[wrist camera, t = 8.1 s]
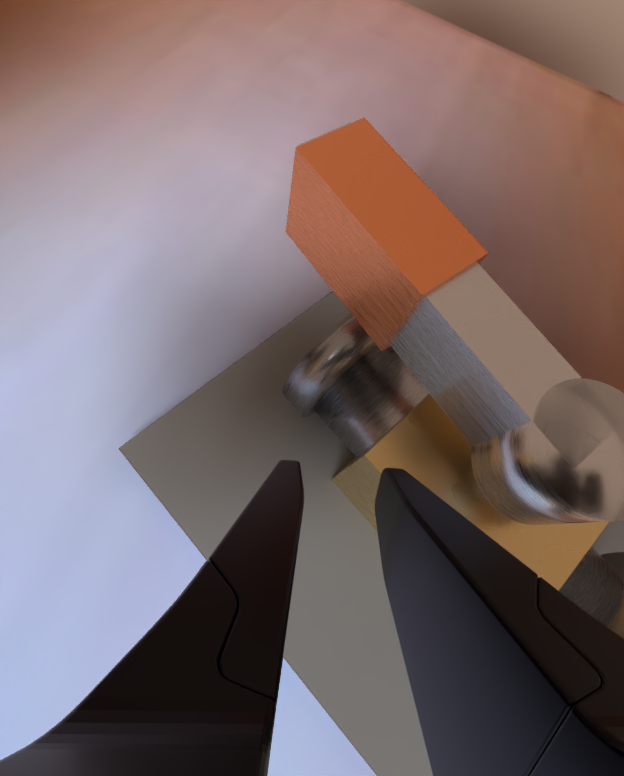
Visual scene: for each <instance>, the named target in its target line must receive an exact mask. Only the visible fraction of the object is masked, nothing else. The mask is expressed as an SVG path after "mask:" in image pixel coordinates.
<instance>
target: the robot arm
mask: <svg viewBox="0 0 624 776" xmlns="http://www.w3.org/2000/svg"><path fill="white" fill-rule="evenodd" d="M303 508H304V487H303V480H302V472H301V465H300V462H299V461H294V460H280V461H279V462H278V463H277V465H276V466H275V467H274V469H273V470H272V471H271V473H270V474H269V476H268V477H267V478H266V480H265V481H264V482H263V484H262V485H261V487H260V488H259V489H258V491H257V492H256V493H255V495H254V496H253V498H252V499H251V500H250V502H249V503H248V504H247V506H246V507H245V509H244V510H243V511H242V513H241V514H240V516H239V517H238V518H237V520H236V521H235V522H234V524H233V525H232V527H231V528H230V529H229V531H228V532H227V533H226V535H225V536H224V538H223V539H222V540H221V542H220V543H219V544H218V546H217V547H216V549H215V550H214V551H213V553H212V554H211V555H210V557H209V558H208V561H206V562H205V563H204V565H203V566H202V567H201V569H200V570H199V572H198V573H197V574H196V576H195V577H194V578H193V580H192V581H191V582H190V583H189V585H188V586H187V587H186V589H185V590H184V591H183V592H182V594H181V595H180V596H179V597H178V599H177V600H176V601H175V602H174V603H173V604H172V606H171V607H170V608H169V609H168V610H167V611H166V612H165V613H164V614H163V616H162V617H161V618H160V619H159V620H158V621H157V622H156V623H155V625H154V626H153V627H152V628H151V629H150V630H149V631H148V632H147V633H146V634H145V635H144V636H143V637H142V638H141V639H140V640H139V642H138V643H137V644H136V645H135V646H134V647H133V648H132V649H131V650H130V651H129V652H128V653H127V654H126V655H125V656H124V657H123V658H122V659H121V661H120V662H119V663H118V664H117V665H116V666H115V667H114V668H113V669H112V670H111V671H110V672H109V673H108V674H107V675H106V676H105V677H104V678H103V680H102V681H101V682H100V683H99V684H98V685H97V686H96V687H95V688H94V689H93V690H92V691H91V692H90V693H89V694H88V695H87V696H86V697H85V698H84V700H83V701H82V702H81V703H80V704H79V705H78V706H77V707H76V708H75V709H74V710H73V711H72V712H71V713H69V714H68V715H67V716H66V717H65V718H64V719H63V720H62V721H60V722H59V723H58V724H57V725H56V726H54V727H53V728H52V729H51V730H49V731H48V732H47V733H46V734H44V735H43V736H41V737H40V738H39V739H37V740H36V741H34V742H33V743H31V744H30V745H28V746H26V747H25V748H23V749H21V750H19V751H17V752H15V753H14V754H12V755H10V756H8V757H6V758H4V759H2V760H0V776H267V774H268V766H269V757H270V750H271V742H272V734H273V727H274V719H275V712H276V704H277V697H278V690H279V683H280V676H281V668H282V661H283V654H284V646H285V639H286V632H287V625H288V617H289V610H290V603H291V595H292V588H293V581H294V574H295V566H296V559H297V552H298V544H299V537H300V530H301V523H302V515H303ZM375 517H376V525H377V532H378V540H379V547H380V555H381V563H382V570H383V576H384V581H385V586H386V590H387V594H388V598H389V602H390V606H391V610H392V614H393V618H394V622H395V626H396V630H397V634H398V638H399V642H400V646H401V650H402V654H403V658H404V662H405V666H406V670H407V674H408V678H409V682H410V686H411V690H412V694H413V698H414V702H415V706H416V710H417V714H418V718H419V722H420V726H421V730H422V734H423V738H424V742H425V746H426V750H427V754H428V758H429V762H430V766H431V770H432V774H433V776H624V639H623V638H622V637H621V636H619V635H618V634H616V633H615V632H614V631H612V630H611V629H609V628H608V627H607V626H605V625H604V624H602V623H601V622H600V621H598V620H597V619H595V618H594V617H593V616H591V615H590V614H588V613H587V612H586V611H585V610H583V609H582V608H581V607H579V606H578V605H577V604H575V603H574V602H573V601H571V600H570V599H569V598H567V597H566V596H565V595H563V594H562V593H561V592H560V591H558V590H557V589H556V588H554V587H553V586H552V585H551V584H549V583H548V582H547V581H546V580H544V579H543V578H542V577H539V578H538V575H537V574H536V573H535V572H534V571H533V570H531V569H530V568H529V567H528V566H526V565H525V564H524V563H523V562H521V561H520V560H519V559H517V558H516V557H515V556H514V555H512V554H511V553H510V552H509V551H507V550H506V549H505V548H503V547H502V546H501V545H500V544H498V543H497V542H496V541H495V540H493V539H492V538H491V537H489V536H488V535H487V534H486V533H484V532H483V531H482V530H481V529H479V528H478V527H477V526H475V525H474V524H473V523H472V522H470V521H469V520H468V519H467V518H465V517H464V516H463V515H461V514H460V513H459V512H458V511H456V510H455V509H454V508H453V507H451V506H450V505H449V504H447V503H446V502H445V501H444V500H442V499H441V498H440V497H439V496H437V495H436V494H435V493H433V492H432V491H431V490H430V489H428V488H427V487H426V486H425V485H423V484H422V483H421V482H419V481H418V480H417V479H416V478H414V477H413V476H412V475H411V474H409V473H408V472H407V471H405V470H404V469H400V468H385V469H383V471H382V473H381V477H380V481H379V485H378V489H377V494H376V498H375Z"/></svg>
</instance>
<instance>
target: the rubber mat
mask: <svg viewBox="0 0 624 776" xmlns="http://www.w3.org/2000/svg"><path fill="white" fill-rule="evenodd" d="M349 314H351V313H350V311H349V310H348V309H347V308H346V306H345V305H344V304H343V303H342V301H341V300H340V299H339V298H338V296H337V295H336V294H335V293H334V291H332V292H331V293H330V294H328V295H327V296H325V297H324V298H323V299H321V300H320V301H319V302H317V303H316V304H315V305H313V306H312V307H310V308H309V309H308V310H306V311H305V312H304V313H302V314H301V315H300V316H298V317H297V318H296V319H294V320H293V321H291V322H290V323H289V324H287V325H286V326H285V327H283V328H282V329H281V330H279V331H278V332H276V333H275V334H274V335H272V336H271V337H270V338H268V339H267V340H266V341H264V342H263V343H261V344H260V345H259V346H257V347H256V348H255V349H253V350H252V351H251V352H249V353H248V354H246V355H245V356H244V357H242V358H241V359H240V360H238V361H237V362H236V363H234V364H233V365H232V366H230V367H229V368H227V369H226V370H225V371H223V372H222V373H221V374H219V375H218V376H217V377H215V378H214V379H212V380H211V381H210V382H208V383H207V384H206V385H204V386H203V387H202V388H200V389H199V390H197V391H196V392H195V393H193V394H192V395H191V396H189V397H188V398H187V399H185V400H184V401H183V402H181V403H180V404H178V405H177V406H176V407H174V408H173V409H172V410H170V411H169V412H168V413H166V414H165V415H163V416H162V417H161V418H159V419H158V420H157V421H155V422H154V423H153V424H151V425H150V426H148V427H147V428H146V429H144V430H143V431H142V432H140V433H139V434H138V435H136V436H135V437H133V438H132V439H131V440H129V441H128V442H127V443H125V444H124V445H123V446H121V447H120V448H119V450H120V451H121V453H122V454H123V455H124V456H125V458H126V459H127V460H128V461H129V463H130V464H131V465H132V466H133V468H134V469H135V470H136V472H137V473H138V474H139V475H140V477H141V478H142V479H143V480H144V482H145V483H146V484H147V485H148V487H149V488H150V489H151V491H152V492H153V493H154V494H155V496H156V497H157V498H158V499H159V501H160V502H161V503H162V504H163V506H164V507H165V508H166V509H167V511H168V512H169V513H170V515H171V516H172V517H173V518H174V520H175V521H176V522H177V523H178V525H179V526H180V527H181V528H182V530H183V531H184V532H185V534H186V535H187V536H188V537H189V539H190V540H191V541H192V542H193V544H194V545H195V546H196V547H197V549H198V550H199V551H200V553H201V554H202V555H203V556H204V558H205V559H206V560H207V561H208V558H209V557H210V555H211V554H212V553H213V551H214V550H215V549H216V547H217V546H218V544H219V543H220V542H221V540H222V539H223V538H224V536H225V535H226V533H227V532H228V531H229V529H230V528H231V527H232V525H233V524H234V522H235V521H236V520H237V518H238V517H239V516H240V514H241V513H242V511H243V510H244V509H245V507H246V506H247V504H248V503H249V502H250V500H251V499H252V498H253V496H254V495H255V493H256V492H257V491H258V489H259V488H260V487H261V485H262V484H263V482H264V481H265V480H266V478H267V477H268V476H269V474H270V473H271V471H272V470H273V469H274V467H275V466H276V465H277V463H278V462H279V461H280V460H294V461H299V462H300V465H301V472H302V480H303V487H304V508H303V515H302V523H301V530H300V537H299V544H298V552H297V559H296V566H295V574H294V581H293V588H292V595H291V603H290V610H289V617H288V625H287V632H286V639H285V646H284V654H283V658H284V659H285V660H286V661H287V663H288V664H289V665H290V666H291V668H292V669H293V670H294V671H295V673H296V674H297V675H298V677H299V678H300V679H301V680H302V682H303V683H304V684H305V685H306V687H307V688H308V689H309V690H310V692H311V693H312V694H313V696H314V697H315V698H316V699H317V701H318V702H319V703H320V704H321V706H322V707H323V708H324V709H325V711H326V712H327V713H328V715H329V716H330V717H331V718H332V720H333V721H334V722H335V723H336V725H337V726H338V727H339V728H340V730H341V731H342V732H343V734H344V735H345V736H346V737H347V739H348V740H349V741H350V742H351V744H352V745H353V746H354V747H355V749H356V750H357V751H358V752H359V754H360V755H361V756H362V758H363V759H364V760H365V761H366V763H367V764H368V765H369V766H370V768H371V769H372V770H373V771H374V773H375V774H376V775H377V776H433V774H432V770H431V766H430V762H429V758H428V754H427V750H426V746H425V742H424V738H423V734H422V730H421V726H420V722H419V718H418V714H417V710H416V706H415V702H414V698H413V694H412V690H411V686H410V682H409V678H408V674H407V670H406V666H405V662H404V658H403V654H402V650H401V646H400V642H399V638H398V634H397V630H396V626H395V622H394V618H393V614H392V610H391V606H390V602H389V598H388V594H387V590H386V586H385V581H384V576H383V570H382V563H381V555H380V547H379V540H378V532H377V531H376V530H375V529H374V528H373V527H372V526H371V524H370V523H369V522H368V521H367V520H366V519H365V518H364V516H363V515H362V514H361V513H360V512H359V511H358V510H357V509H356V507H355V506H354V505H353V504H352V503H351V502H350V501H349V499H348V498H347V497H346V496H345V495H344V494H343V493H342V492H341V490H340V489H339V488H338V487H337V486H336V485H335V484H334V482H333V481H332V480H331V479H332V478H333V477H335V476H336V475H337V474H338V473H339V472H340V471H341V470H342V469H343V468H344V467H345V466H346V465H347V464H349V463H350V462H351V461H352V460H353V459H354V458H355V455H354V454H353V453H352V452H351V451H350V450H349V449H348V448H347V447H346V445H345V444H344V443H343V442H342V441H341V440H340V439H339V438H338V437H337V436H336V434H335V433H334V432H333V431H332V430H331V429H330V428H329V427H328V426H327V424H326V423H325V422H324V421H323V420H322V419H321V418H320V417H319V416H318V414H317V413H316V412H314V413H312V414H311V415H309V416H306V417H302V416H301V415H300V414H299V412H298V411H297V410H296V409H295V408H294V407H293V406H292V405H291V403H290V402H289V401H288V400H287V399H286V398H285V397H284V396H283V394H282V389H283V386H284V384H285V382H286V381H287V379H288V377H289V376H290V374H291V373H292V372H293V370H294V369H295V368H296V366H297V365H298V364H299V363H300V362H301V360H302V359H303V358H304V357H305V356H306V355H307V354H308V352H309V351H310V350H311V349H312V348H313V347H314V346H315V345H316V344H317V343H318V342H319V341H320V340H321V339H322V338H323V337H324V336H325V335H326V334H327V333H328V332H329V331H331V330H332V329H333V328H334V327H335V326H336V325H337V324H338V323H340V322H341V321H342V320H343V319H344V318H346V317H347V316H348V315H349ZM592 547H593V548H594V549H595V550H596V551H597V552H598V553H599V554H600V555H602V554H606V553H613V552H624V521H609V523H608V524H607V525H606V527H605V528H604V530H603V531H602V532H601V534H600V535H599V536H598V538H597V539H596V540H595V542H594V543H593V545H592Z"/></svg>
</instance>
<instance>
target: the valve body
mask: <svg viewBox="0 0 624 776" xmlns="http://www.w3.org/2000/svg"><path fill="white" fill-rule="evenodd" d="M282 394H283V396H284V397H285V398H286V399H287V400H288V401H289V402H290V403H291V405H292V406H293V407H294V408H295V409H296V410H297V411H298V412H299V414H300V415H301V416H302V417H306V416H309V415H311V414H312V413H314V412H316V413H317V414H318V416H319V417H320V418H321V419H322V420H323V421H324V422H325V423H326V424H327V426H328V427H329V428H330V429H331V430H332V431H333V432H334V433H335V434H336V436H337V437H338V438H339V439H340V440H341V441H342V442H343V443H344V444H345V445H346V447H347V448H348V449H349V450H350V451H351V452H352V453H353V454H354V455H355V458H354V459H353V460H352V461H351V462H350V463H349V464H347V465H346V466H345V467H344V468H343V469H342V470H341V471H340V472H339V473H338V474H337V475H336V476H335V477H333V478H332V479H331V480H332V481H333V482H334V484H335V485H336V486H337V487H338V488H339V489H340V490H341V492H342V493H343V494H344V495H345V496H346V497H347V498H348V499H349V501H350V502H351V503H352V504H353V505H354V506H355V507H356V509H357V510H358V511H359V512H360V513H361V514H362V515H363V516H364V518H365V519H366V520H367V521H368V522H369V523H370V524H371V526H372V527H373V528H374V529H375V530H376V531H377V525H376V517H375V498H376V494H377V489H378V485H379V481H380V477H381V473H382V471H383V469H385V468H400V469H404V470H405V471H407V472H408V473H409V474H411V475H412V476H413V477H414V478H416V479H417V480H418V481H419V482H421V483H422V484H423V485H425V486H426V487H427V488H428V489H430V490H431V491H432V492H433V493H435V494H436V495H437V496H439V497H440V498H441V499H442V500H444V501H445V502H446V503H447V504H449V505H450V506H451V507H453V508H454V509H455V510H456V511H458V512H459V513H460V514H461V515H463V516H464V517H465V518H467V519H468V520H469V521H470V522H472V523H473V524H474V525H475V526H477V527H478V528H479V529H481V530H482V531H483V532H484V533H486V534H487V535H488V536H489V537H491V538H492V539H493V540H495V541H496V542H497V543H498V544H500V545H501V546H502V547H503V548H505V549H506V550H507V551H509V552H510V553H511V554H512V555H514V556H515V557H516V558H517V559H519V560H520V561H521V562H523V563H524V564H525V565H526V566H528V567H529V568H530V569H531V570H533V571H534V572H535V573H536V574H537V575H538V578H539V577H542V578H543V579H544V580H546V581H547V582H548V583H549V584H551V585H552V586H553V587H554V588H556V589H557V590H558V591H560V592H561V593H562V594H563V595H565V596H566V597H567V598H569V599H570V600H571V601H573V602H574V603H575V604H577V605H578V606H579V607H581V608H582V609H583V610H585V611H586V612H587V613H588V614H590V615H591V616H593V617H594V618H595V619H597V620H598V621H600V622H601V623H602V624H604V625H605V626H607V627H608V628H609V629H611V630H612V631H614V632H615V633H616V634H618V635H619V636H621V637H622V638H623V639H624V552H613V553H606V554H602V555H600V554H599V553H598V552H597V551H596V550H595V549H594V548H593V547H592V545H593V543H594V542H595V540H596V539H597V538H598V536H599V535H600V534H601V532H602V531H603V530H604V528H605V527H606V525H607V524H608V523H609V521H608V522H589V523H569V524H550V525H526V524H522V523H518V522H516V521H513V520H511V519H509V518H507V517H505V516H504V515H502V514H501V513H500V512H498V511H497V510H496V509H495V508H494V507H493V506H492V505H491V504H490V503H489V502H488V501H487V500H486V498H485V497H484V495H483V494H482V493H481V491H480V489H479V487H478V485H477V483H476V480H475V478H474V474H473V471H472V465H471V449H472V446H471V444H470V443H469V442H468V441H467V439H466V438H465V437H464V436H463V434H462V433H461V432H460V431H459V429H458V428H457V427H456V426H455V425H454V423H453V422H452V421H451V420H450V418H449V417H448V416H447V415H446V413H445V412H444V411H443V410H442V409H441V407H440V406H439V405H438V404H437V402H436V401H435V400H434V399H433V397H432V396H431V395H430V394H429V392H428V391H427V390H426V389H425V388H424V386H423V385H422V384H421V383H420V381H419V380H418V379H417V378H416V376H415V375H414V374H413V373H412V371H411V370H410V369H409V368H408V367H407V365H406V364H405V363H404V362H403V360H402V359H401V358H400V357H399V355H398V354H397V353H396V352H395V351H394V349H393V348H392V347H391V346H390V347H388V348H387V349H385V350H384V351H381V350H380V349H379V348H378V346H377V345H376V344H375V343H374V341H373V340H372V339H371V338H370V336H369V335H368V334H367V333H366V331H365V330H364V329H363V328H362V326H361V325H360V324H359V323H358V321H357V320H356V319H355V318H354V316H353V315H352V314H349V315H348V316H347V317H346V318H344V319H343V320H342V321H341V322H340V323H338V324H337V325H336V326H335V327H334V328H333V329H332V330H331V331H329V332H328V333H327V334H326V335H325V336H324V337H323V338H322V339H321V340H320V341H319V342H318V343H317V344H316V345H315V346H314V347H313V348H312V349H311V350H310V351H309V352H308V354H307V355H306V356H305V357H304V358H303V359H302V360H301V362H300V363H299V364H298V365H297V366H296V368H295V369H294V370H293V372H292V373H291V374H290V376H289V377H288V379H287V381H286V382H285V384H284V386H283V389H282Z"/></svg>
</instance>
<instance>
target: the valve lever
mask: <svg viewBox="0 0 624 776" xmlns="http://www.w3.org/2000/svg"><path fill="white" fill-rule="evenodd" d="M286 233H287V234H288V235H289V237H290V238H291V239H292V240H293V242H294V243H295V244H296V245H297V247H298V248H299V249H300V250H301V252H302V253H303V254H304V255H305V257H306V258H307V259H308V260H309V262H310V263H311V264H312V265H313V267H314V268H315V269H316V270H317V272H318V273H319V274H320V275H321V277H322V278H323V279H324V280H325V281H326V283H327V284H328V285H329V286H330V288H331V289H332V290H333V291H334V293H335V294H336V295H337V296H338V298H339V299H340V300H341V301H342V303H343V304H344V305H345V306H346V308H347V309H348V310H349V311H350V313H351V314H352V315H353V316H354V318H355V319H356V320H357V321H358V323H359V324H360V325H361V326H362V328H363V329H364V330H365V331H366V333H367V334H368V335H369V336H370V338H371V339H372V340H373V341H374V343H375V344H376V345H377V346H378V348H379V349H380V350H381V351H384V350H385V349H387V348H388V347H390V346H391V347H392V348H393V349H394V351H395V352H396V353H397V354H398V355H399V357H400V358H401V359H402V360H403V362H404V363H405V364H406V365H407V367H408V368H409V369H410V370H411V371H412V373H413V374H414V375H415V376H416V378H417V379H418V380H419V381H420V383H421V384H422V385H423V386H424V388H425V389H426V390H427V391H428V392H429V394H430V395H431V396H432V397H433V399H434V400H435V401H436V402H437V404H438V405H439V406H440V407H441V409H442V410H443V411H444V412H445V413H446V415H447V416H448V417H449V418H450V420H451V421H452V422H453V423H454V425H455V426H456V427H457V428H458V429H459V431H460V432H461V433H462V434H463V436H464V437H465V438H466V439H467V441H468V442H469V443H470V444H471V446H472V449H471V465H472V471H473V474H474V478H475V480H476V483H477V485H478V487H479V489H480V491H481V493H482V494H483V495H484V497H485V498H486V500H487V501H488V502H489V503H490V504H491V505H492V506H493V507H494V508H495V509H496V510H497V511H498V512H500V513H501V514H502V515H504V516H505V517H507V518H509V519H511V520H513V521H516V522H518V523H522V524H526V525H550V524H569V523H589V522H608V521H624V393H623V392H621V391H620V390H618V389H616V388H615V387H613V386H611V385H608V384H606V383H603V382H600V381H597V380H593V379H585V378H582V377H581V376H580V375H579V374H578V373H577V372H576V371H575V370H574V369H573V368H572V366H571V365H570V364H569V363H568V362H567V361H566V360H565V359H564V358H563V356H562V355H561V354H560V353H559V352H558V351H557V350H556V349H555V348H554V347H553V345H552V344H551V343H550V342H549V341H548V340H547V339H546V338H545V337H544V335H543V334H542V333H541V332H540V331H539V330H538V329H537V328H536V327H535V326H534V324H533V323H532V322H531V321H530V320H529V319H528V318H527V317H526V316H525V314H524V313H523V312H522V311H521V310H520V309H519V308H518V307H517V306H516V305H515V303H514V302H513V301H512V300H511V299H510V298H509V297H508V296H507V295H506V293H505V292H504V291H503V290H502V289H501V288H500V287H499V286H498V285H497V283H496V282H495V281H494V280H493V279H492V278H491V277H490V276H489V275H488V274H487V272H486V271H485V270H484V269H483V268H482V267H481V266H480V265H479V264H480V262H481V261H482V260H483V259H484V258H485V256H486V255H487V254H488V252H487V251H486V250H485V249H484V248H483V246H482V245H481V244H480V243H479V242H478V241H477V240H476V239H475V238H474V237H473V236H472V234H471V233H470V232H469V231H468V230H467V229H466V228H465V227H464V226H463V225H462V224H461V222H460V221H459V220H458V219H457V218H456V217H455V216H454V215H453V214H452V213H451V212H450V210H449V209H448V208H447V207H446V206H445V205H444V204H443V203H442V202H441V201H440V200H439V198H438V197H437V196H436V195H435V194H434V193H433V192H432V191H431V190H430V189H429V188H428V186H427V185H426V184H425V183H424V182H423V181H422V180H421V179H420V178H419V177H418V176H417V174H416V173H415V172H414V171H413V170H412V169H411V168H410V167H409V166H408V165H407V164H406V162H405V161H404V160H403V159H402V158H401V157H400V156H399V155H398V154H397V153H396V152H395V150H394V149H393V148H392V147H391V146H390V145H389V144H388V143H387V142H386V141H385V140H384V138H383V137H382V136H381V135H380V134H379V133H378V132H377V131H376V130H375V129H374V128H373V126H372V125H371V124H370V123H369V122H368V121H367V120H366V119H365V118H362V119H360V120H358V121H355V122H353V123H348V124H346V125H344V126H341V127H339V128H337V129H335V130H332V131H330V132H328V133H325V134H323V135H321V136H318V137H316V138H314V139H312V140H309V141H307V142H305V143H302V144H300V145H298V146H297V147H296V150H295V159H294V167H293V175H292V183H291V192H290V200H289V208H288V217H287V225H286Z"/></svg>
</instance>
